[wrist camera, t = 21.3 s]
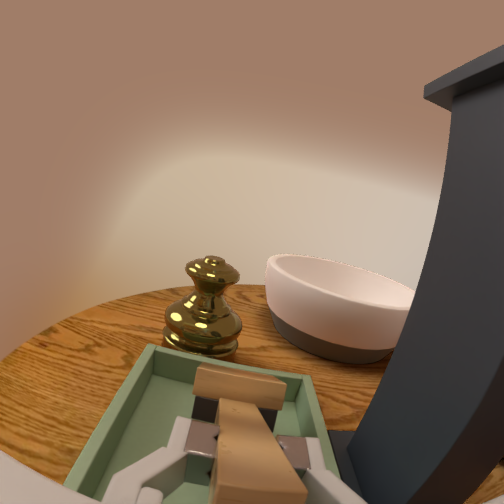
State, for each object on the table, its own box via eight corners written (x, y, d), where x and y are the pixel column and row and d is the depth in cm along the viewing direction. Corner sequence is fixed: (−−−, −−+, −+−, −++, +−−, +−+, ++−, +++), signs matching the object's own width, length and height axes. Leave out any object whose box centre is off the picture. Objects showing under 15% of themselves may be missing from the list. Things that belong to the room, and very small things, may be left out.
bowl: (307, 296, 58) (319, 253, 56) (418, 342, 44) (436, 294, 42) (219, 314, 41) (231, 253, 39) (374, 400, 27) (406, 325, 25)
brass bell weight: (222, 338, 34) (241, 252, 33) (244, 376, 28) (269, 275, 26) (157, 334, 32) (170, 242, 30) (165, 374, 25) (180, 265, 23)
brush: (351, 538, 5) (386, 436, 6) (138, 519, 4) (155, 406, 5) (264, 414, 20) (273, 375, 21) (194, 401, 20) (203, 361, 21)
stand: (355, 570, 8) (558, 19, 4) (322, 440, 20) (424, 85, 15) (460, 540, 9) (629, 118, 4) (406, 439, 21) (505, 131, 16)
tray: (37, 594, 3) (12, 578, 3) (145, 372, 24) (148, 342, 24) (346, 638, 4) (381, 629, 3) (300, 402, 25) (310, 375, 24)
